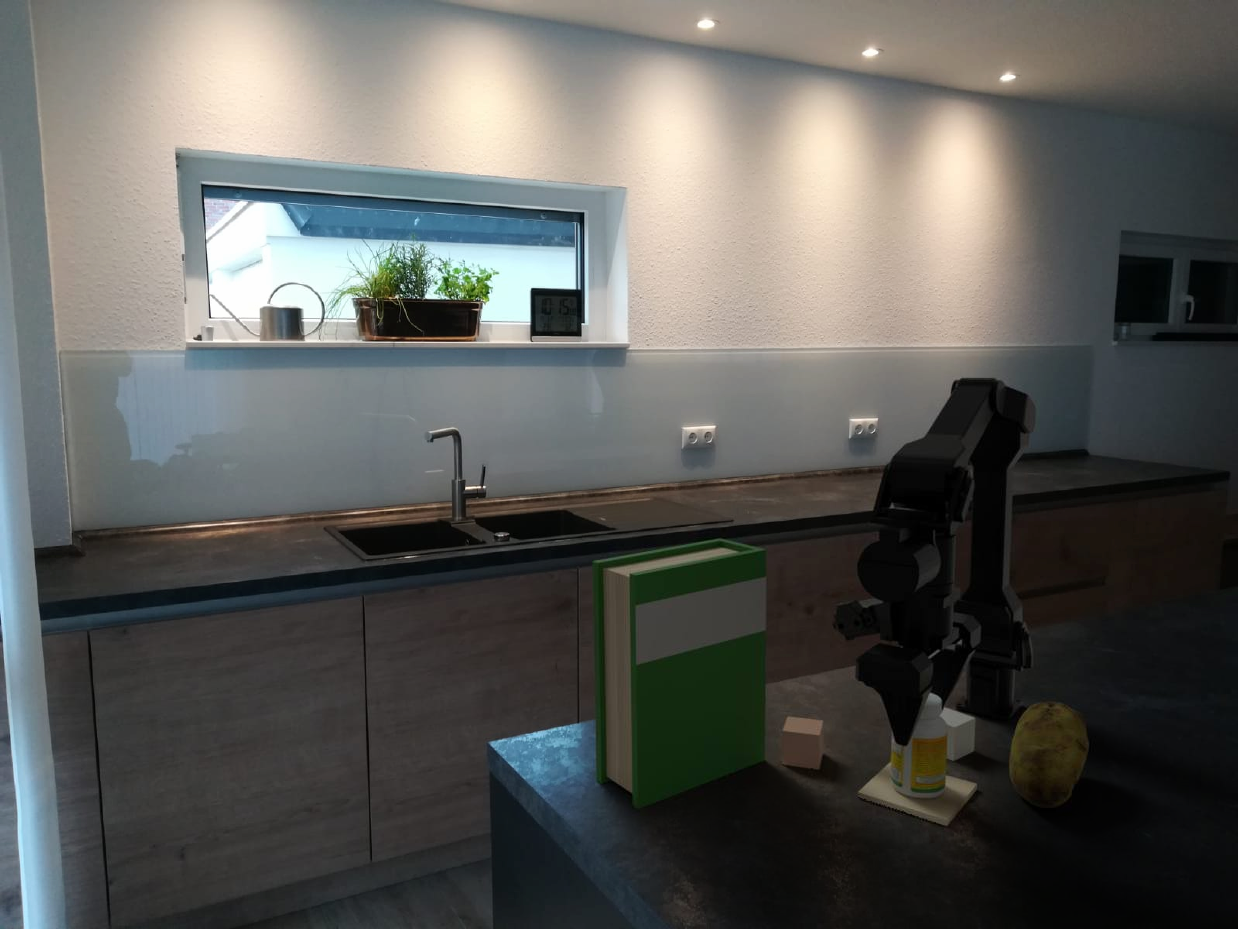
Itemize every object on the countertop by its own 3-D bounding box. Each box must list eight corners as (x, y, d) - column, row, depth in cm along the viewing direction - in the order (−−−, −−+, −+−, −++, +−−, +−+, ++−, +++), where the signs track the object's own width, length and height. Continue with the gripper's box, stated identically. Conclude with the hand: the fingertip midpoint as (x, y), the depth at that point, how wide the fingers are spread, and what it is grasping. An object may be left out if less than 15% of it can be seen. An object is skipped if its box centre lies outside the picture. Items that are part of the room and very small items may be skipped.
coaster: (892, 765, 98) (892, 760, 97) (976, 789, 92) (977, 784, 92) (857, 797, 91) (857, 792, 90) (946, 826, 85) (947, 820, 85)
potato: (976, 794, 91) (979, 720, 90) (1031, 755, 99) (1034, 686, 98) (1060, 826, 85) (1064, 746, 84) (1111, 781, 93) (1116, 708, 92)
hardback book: (638, 809, 89) (635, 575, 86) (596, 780, 95) (592, 561, 92) (764, 760, 99) (766, 549, 96) (720, 737, 105) (720, 538, 102)
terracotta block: (787, 749, 102) (787, 716, 101) (823, 754, 101) (823, 720, 100) (782, 765, 98) (782, 730, 98) (818, 770, 97) (819, 735, 96)
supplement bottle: (881, 788, 91) (883, 699, 90) (904, 769, 95) (907, 683, 94) (931, 806, 87) (934, 713, 86) (954, 786, 91) (957, 696, 90)
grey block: (942, 739, 104) (943, 707, 103) (974, 751, 101) (975, 718, 100) (922, 749, 102) (923, 715, 101) (953, 761, 98) (954, 727, 98)
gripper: (882, 551, 100) (879, 684, 102) (805, 586, 86) (804, 740, 88) (984, 565, 94) (979, 707, 95) (919, 605, 79) (914, 772, 81)
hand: (919, 729), depth 90 cm, fingers open, 9 cm apart
